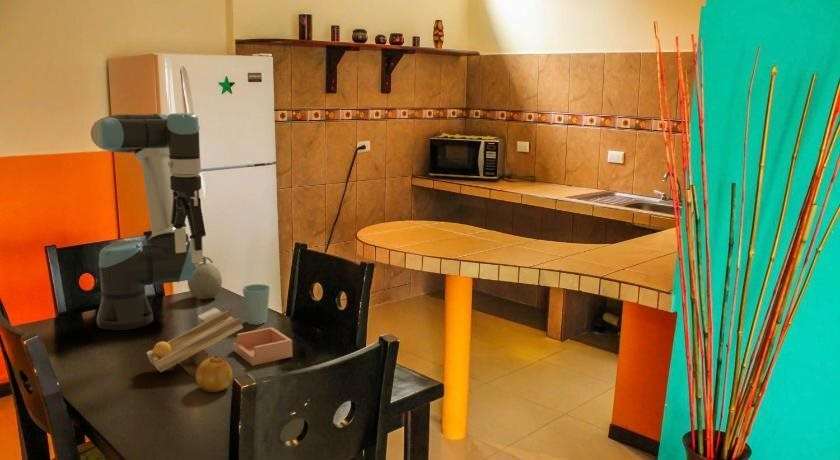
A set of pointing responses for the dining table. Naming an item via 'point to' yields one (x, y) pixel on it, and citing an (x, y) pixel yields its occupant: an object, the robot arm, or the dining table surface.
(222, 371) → the fruit
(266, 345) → the dish
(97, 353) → the dining table surface
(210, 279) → the fruit
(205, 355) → the fulcrum
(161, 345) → the ball
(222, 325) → the lever
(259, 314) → the cup
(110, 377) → the dining table surface
